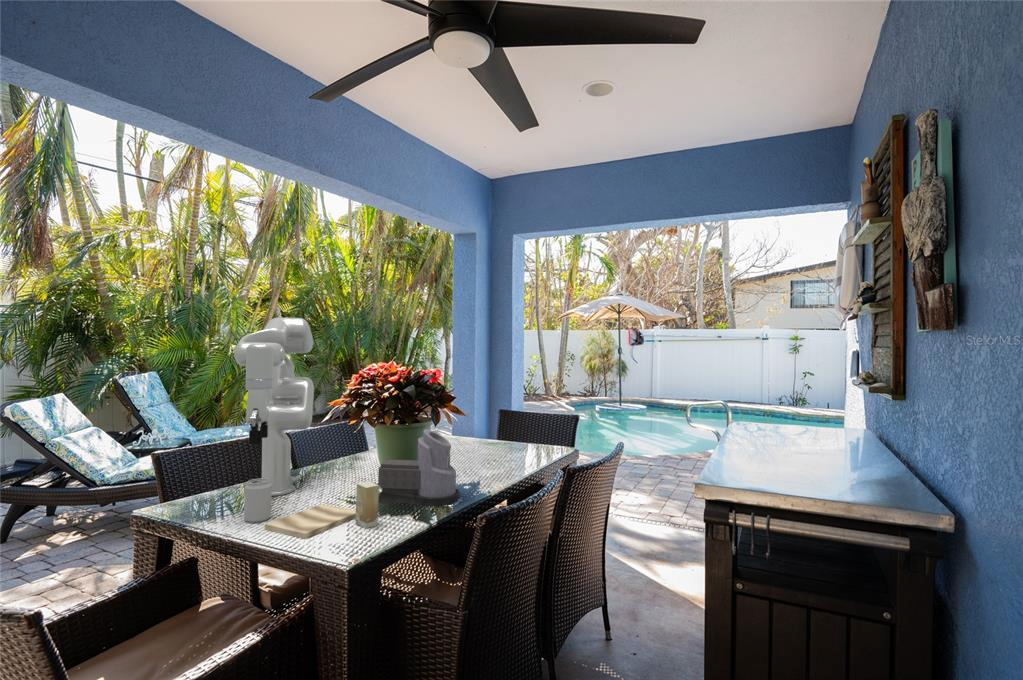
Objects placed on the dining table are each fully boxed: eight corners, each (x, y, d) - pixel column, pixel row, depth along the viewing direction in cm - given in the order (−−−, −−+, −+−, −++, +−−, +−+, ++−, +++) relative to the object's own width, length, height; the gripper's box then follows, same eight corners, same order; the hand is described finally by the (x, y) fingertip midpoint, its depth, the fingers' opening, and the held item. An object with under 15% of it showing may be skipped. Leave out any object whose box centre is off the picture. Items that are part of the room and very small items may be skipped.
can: (263, 514, 170) (264, 475, 170) (275, 519, 165) (276, 480, 165) (239, 519, 164) (240, 480, 164) (251, 525, 160) (251, 484, 160)
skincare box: (354, 523, 163) (355, 482, 163) (367, 520, 166) (368, 480, 166) (365, 529, 158) (366, 487, 158) (378, 525, 161) (379, 484, 161)
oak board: (321, 508, 176) (321, 504, 176) (359, 516, 169) (360, 511, 169) (264, 529, 156) (264, 524, 156) (305, 538, 149) (305, 533, 149)
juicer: (466, 495, 195) (468, 427, 195) (458, 508, 179) (459, 434, 179) (386, 491, 198) (387, 424, 198) (370, 504, 182) (371, 431, 182)
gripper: (252, 381, 172) (251, 435, 172) (238, 387, 155) (238, 447, 155) (277, 381, 174) (277, 435, 174) (267, 387, 157) (266, 446, 157)
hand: (258, 440), depth 164 cm, fingers open, 9 cm apart
